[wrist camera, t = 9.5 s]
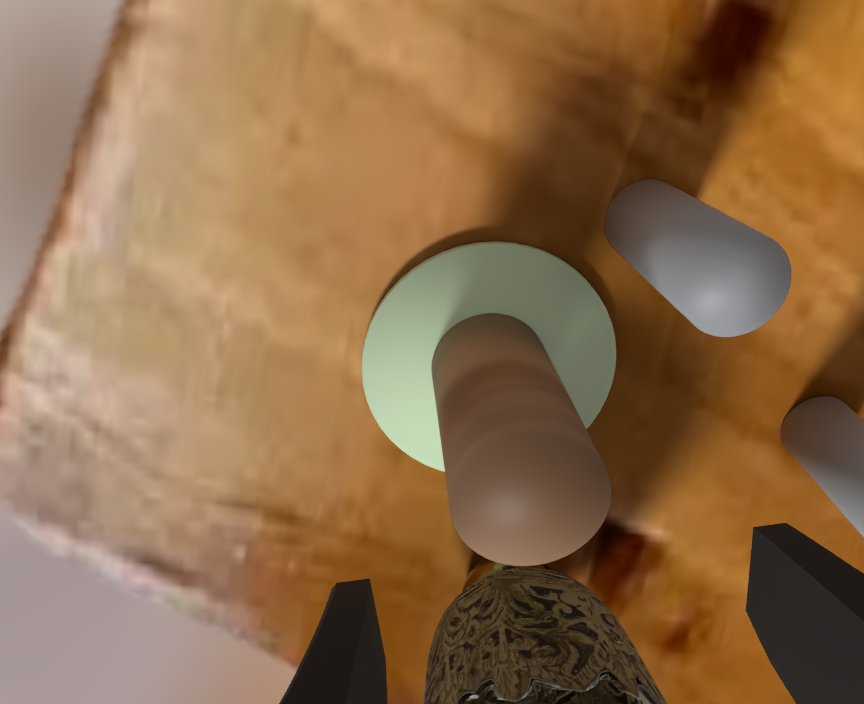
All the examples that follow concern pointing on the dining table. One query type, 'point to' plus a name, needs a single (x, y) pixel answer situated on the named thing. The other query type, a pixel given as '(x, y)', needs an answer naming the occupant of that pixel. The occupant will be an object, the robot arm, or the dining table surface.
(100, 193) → the dining table surface
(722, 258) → the post
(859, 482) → the post
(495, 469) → the dowel
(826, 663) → the robot arm
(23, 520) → the dining table surface
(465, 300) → the coaster
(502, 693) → the cup
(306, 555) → the dining table surface
